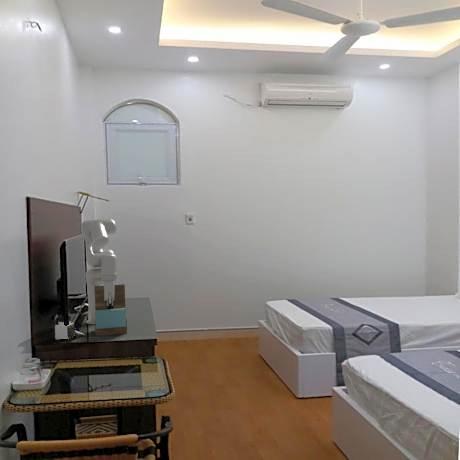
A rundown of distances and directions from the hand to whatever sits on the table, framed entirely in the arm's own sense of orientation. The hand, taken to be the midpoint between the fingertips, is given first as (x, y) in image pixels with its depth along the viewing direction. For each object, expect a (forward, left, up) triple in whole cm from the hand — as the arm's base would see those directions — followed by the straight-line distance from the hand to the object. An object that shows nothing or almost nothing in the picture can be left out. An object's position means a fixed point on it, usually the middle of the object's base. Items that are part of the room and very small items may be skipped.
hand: (110, 313), depth 257 cm
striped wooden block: (-9, 0, -11) cm, 14 cm away
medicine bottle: (-3, -23, -12) cm, 26 cm away
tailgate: (0, 0, -7) cm, 7 cm away
